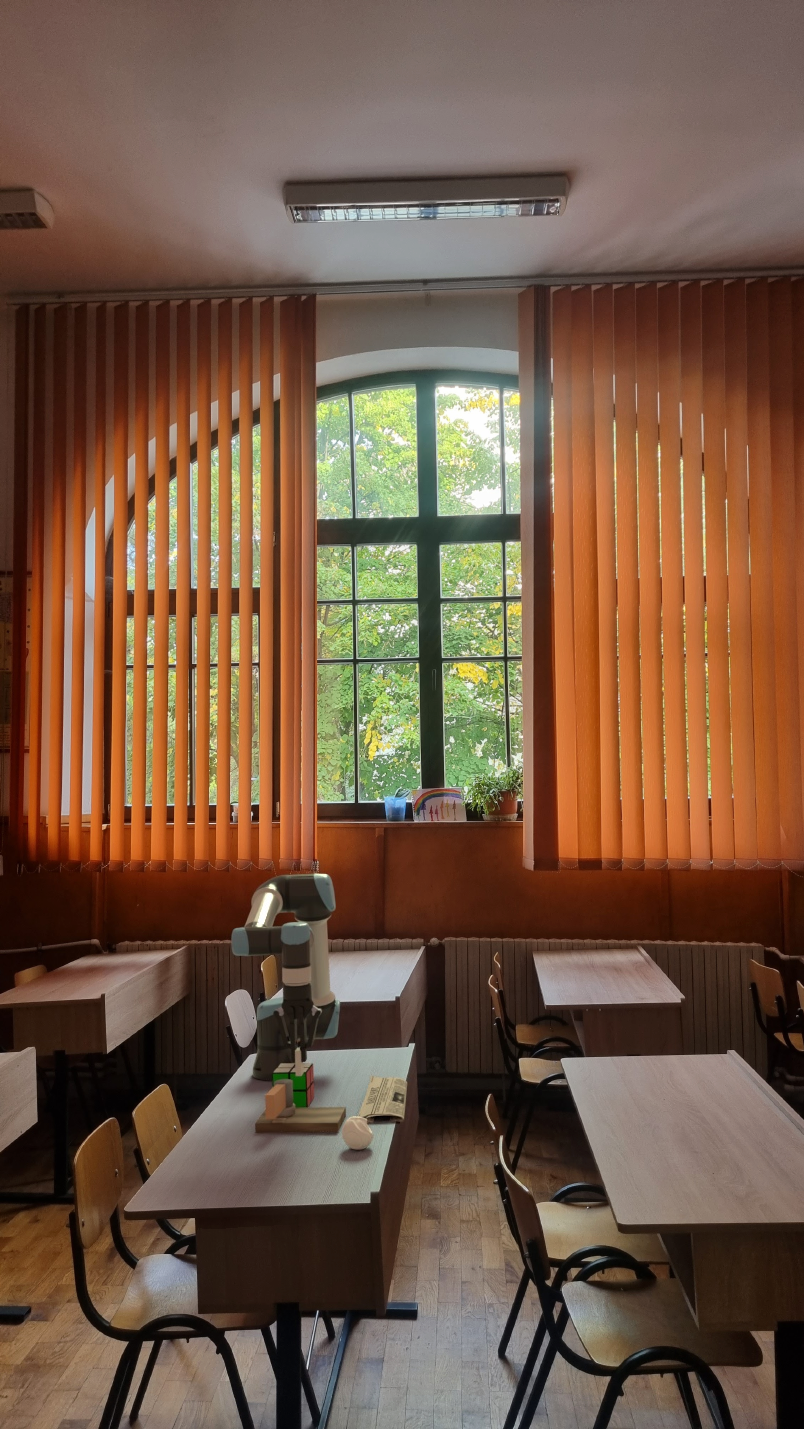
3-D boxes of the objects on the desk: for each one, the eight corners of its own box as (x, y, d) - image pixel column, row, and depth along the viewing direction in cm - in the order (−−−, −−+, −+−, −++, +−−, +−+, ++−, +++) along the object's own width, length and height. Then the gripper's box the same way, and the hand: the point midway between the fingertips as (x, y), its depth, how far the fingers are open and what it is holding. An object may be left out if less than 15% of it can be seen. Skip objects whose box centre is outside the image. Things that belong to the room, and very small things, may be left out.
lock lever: (295, 1101, 263) (294, 1079, 264) (279, 1119, 249) (278, 1095, 250) (277, 1101, 264) (277, 1079, 265) (260, 1118, 250) (260, 1095, 251)
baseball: (375, 1153, 236) (374, 1120, 236) (344, 1156, 234) (343, 1123, 235) (371, 1142, 243) (370, 1110, 244) (341, 1144, 242) (340, 1113, 243)
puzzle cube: (314, 1098, 282) (313, 1062, 283) (307, 1108, 272) (306, 1072, 273) (280, 1098, 283) (279, 1063, 284) (272, 1109, 273) (271, 1072, 274)
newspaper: (404, 1124, 258) (403, 1110, 258) (357, 1125, 258) (357, 1111, 258) (407, 1085, 293) (407, 1073, 293) (366, 1086, 293) (366, 1074, 293)
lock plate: (267, 1116, 266) (266, 1100, 267) (345, 1116, 264) (345, 1099, 265) (255, 1132, 254) (254, 1115, 254) (338, 1132, 251) (337, 1114, 252)
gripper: (324, 979, 257) (327, 1070, 256) (276, 980, 259) (279, 1070, 257) (318, 985, 250) (320, 1078, 248) (269, 986, 252) (271, 1078, 250)
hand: (299, 1074), depth 253 cm, fingers closed
